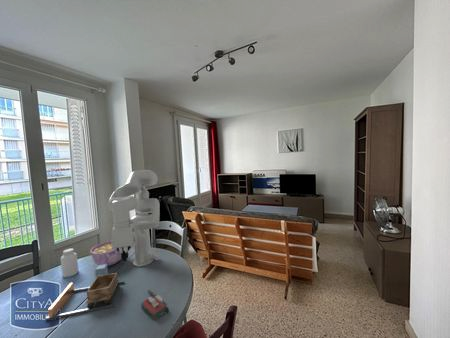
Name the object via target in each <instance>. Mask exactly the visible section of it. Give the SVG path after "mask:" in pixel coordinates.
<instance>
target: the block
mask: <svg viewBox="0 0 450 338" xmlns="http://www.w3.org/2000/svg"><path fill="white" fill-rule="evenodd" d="M94 270H95V278H96V277H97V276H100V275H106V274H109V273H108V272H109V271H108V266H107V264H104V265H97V266H96V268H95V269H94Z"/></svg>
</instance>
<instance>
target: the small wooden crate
mask: <svg viewBox="0 0 450 338" xmlns="http://www.w3.org/2000/svg"><path fill="white" fill-rule="evenodd" d="M118 277H119V276H118V272H112V273H108V274H106V275H100V276H97V277H96V276H95V278H94V281H93V282H92V283H91V285H89V287H90V288H89V289H88V290H86V296H87V297H86V299H87V300H86V301H85V304H87V306H86V307H87V308H92V307H95V304H96V303H98V302H102V301H103V305H106V304H111V302H112V297H113V295H114V293H115V290H116V288H117V287H118V286H119V285H120V284H119V281H120V278H118Z"/></svg>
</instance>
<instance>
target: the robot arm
mask: <svg viewBox="0 0 450 338" xmlns="http://www.w3.org/2000/svg"><path fill="white" fill-rule="evenodd" d="M158 180H159V179H158V175H157V174H156V173H155V172H154V170H151V169H144V170H143V169H142V170H141V169H139V170H134V171H131V172H130V174H129V177H128V178H127V181H126V182H125V184H122V185H121V186H120V187H118V188H116V189H115V190H114V191H113V192H112V194H111V195H110V197H109V199H108V203H107V208H108V209H109V211H110V212H112V219H113V220H112V221H113V226H112V230H111V241H112V250H117V251H119V252H120V253H121V259H120V260H122V262H124V261H125V262H126V261H127V260H128V258H129V251H130V250H131V249H132V248H134V260H133V262H132V264H133V266H134V267H140V268H141V267H145V266H148V265H150V264H152V263H153V262H154V259H158V257H159V255H158V254H157V253H152V251H151V242H150V241H151V240H150V233H149V232H148V230H149V229H157V228H158V227H159V225H160V214H161V213H160V206H161V205H160V200H159V199H158V198H156V197H155V198H154V197H152V198H150V192H149V191H148V189H147V188H146V187H145V186H155V185H156V184H157V183H158ZM133 195H135V196H133ZM131 211H135V213H137V214H135V215H133V216H132V217H131V215H130V212H131ZM123 247H124V249H123Z"/></svg>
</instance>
